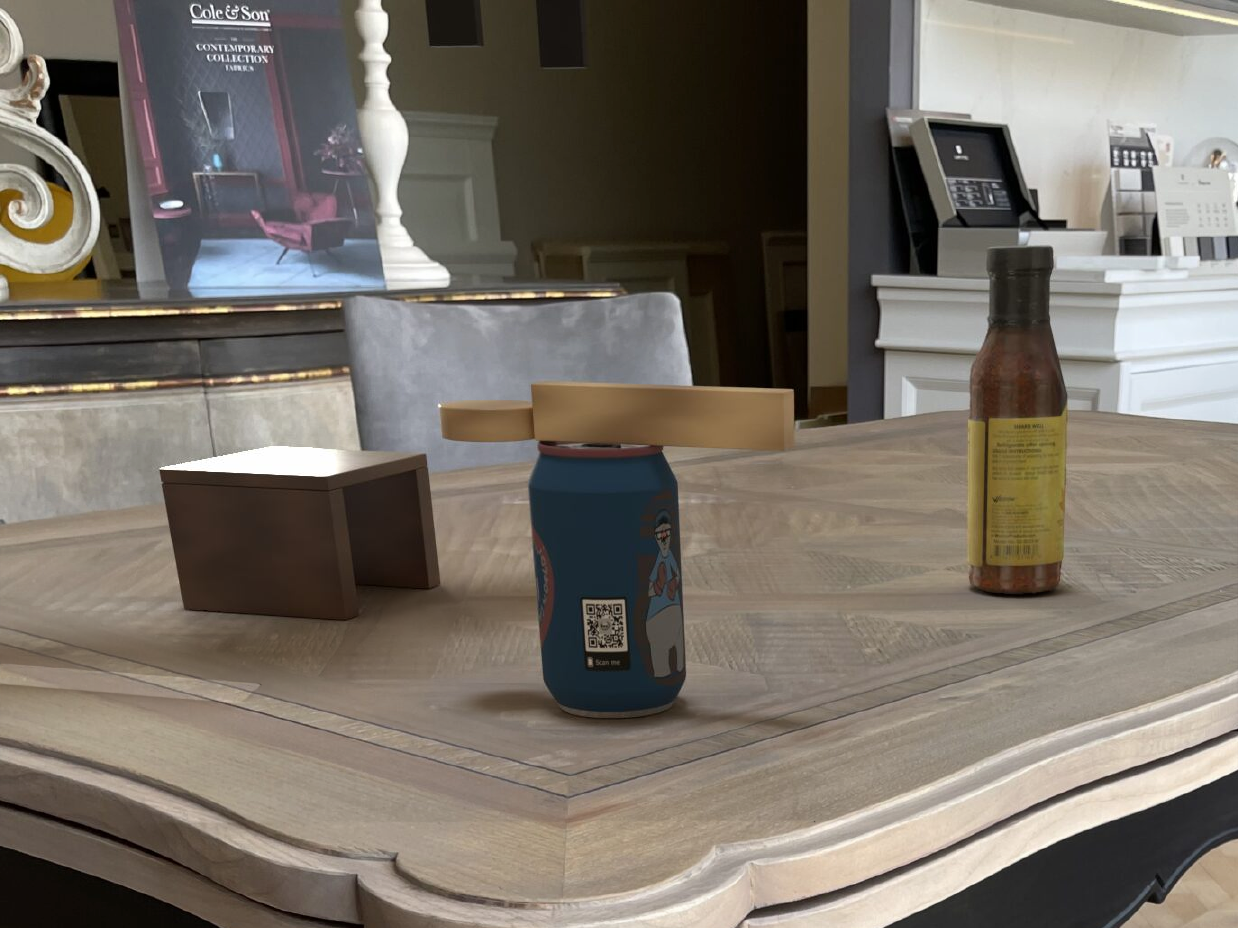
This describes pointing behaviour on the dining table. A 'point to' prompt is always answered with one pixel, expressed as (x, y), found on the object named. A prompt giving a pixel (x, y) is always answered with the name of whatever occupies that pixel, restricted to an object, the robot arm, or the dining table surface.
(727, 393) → the wooden stepped block
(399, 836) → the dining table surface
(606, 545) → the soda can
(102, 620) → the dining table surface
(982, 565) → the sauce bottle
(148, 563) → the dining table surface
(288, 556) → the shelf
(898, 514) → the dining table surface
